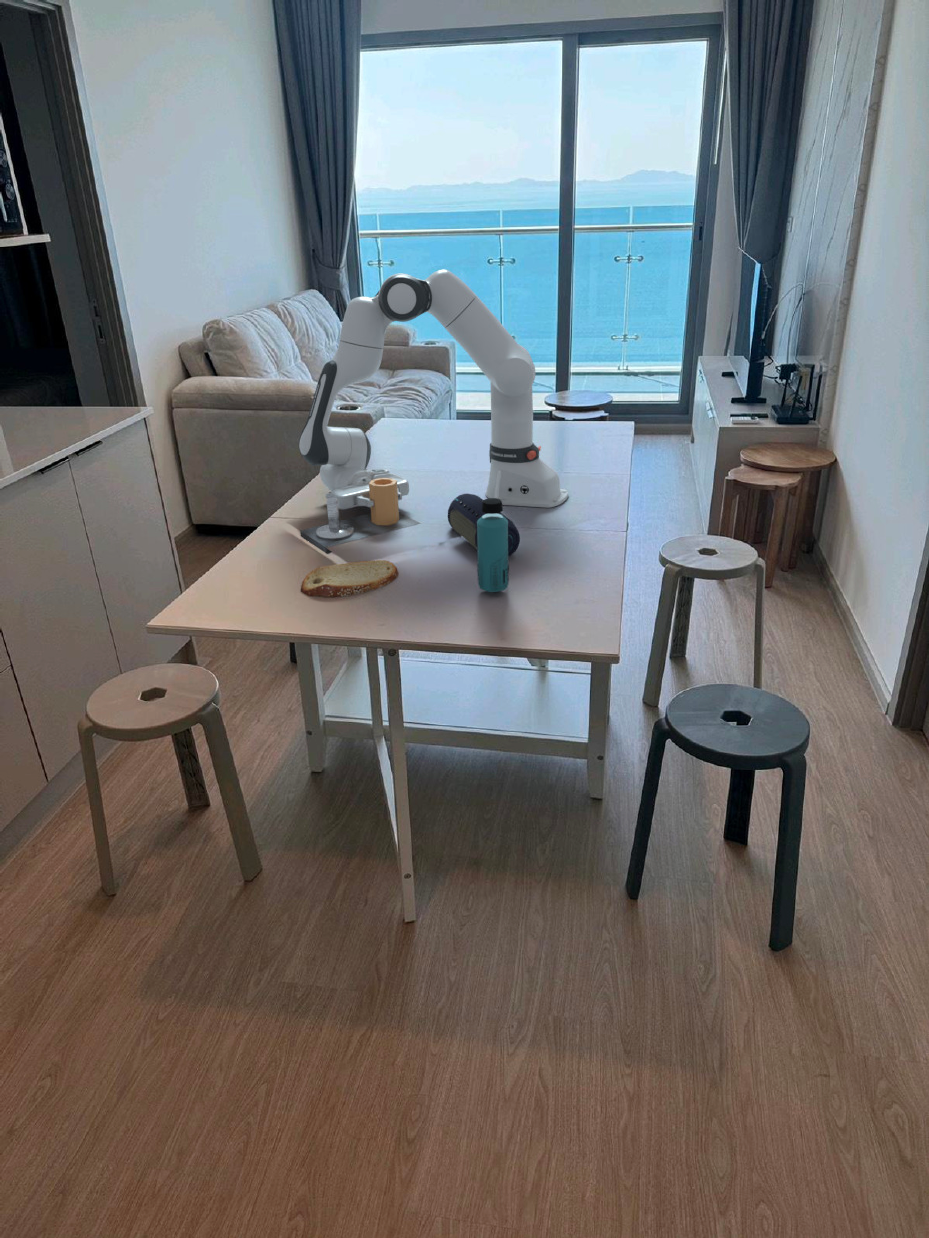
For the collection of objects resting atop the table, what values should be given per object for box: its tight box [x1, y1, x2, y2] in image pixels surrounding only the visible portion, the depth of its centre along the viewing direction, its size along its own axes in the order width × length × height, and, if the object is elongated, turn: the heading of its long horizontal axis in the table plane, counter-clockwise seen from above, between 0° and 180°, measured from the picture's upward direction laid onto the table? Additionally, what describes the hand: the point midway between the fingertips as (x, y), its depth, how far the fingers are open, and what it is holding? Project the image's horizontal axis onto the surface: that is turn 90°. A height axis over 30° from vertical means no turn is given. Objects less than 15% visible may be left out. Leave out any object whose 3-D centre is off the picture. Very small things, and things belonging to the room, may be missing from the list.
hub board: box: [299, 497, 421, 554], centre depth 202 cm, size 26×14×11 cm, turn 125°
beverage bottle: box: [476, 497, 510, 593], centre depth 168 cm, size 6×7×20 cm
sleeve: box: [369, 478, 400, 525], centre depth 205 cm, size 6×6×10 cm
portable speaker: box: [447, 493, 521, 557], centre depth 193 cm, size 25×10×10 cm, turn 23°
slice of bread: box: [300, 559, 399, 598], centre depth 178 cm, size 18×18×4 cm
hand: (385, 500), depth 204 cm, fingers closed on sleeve, 6 cm apart
